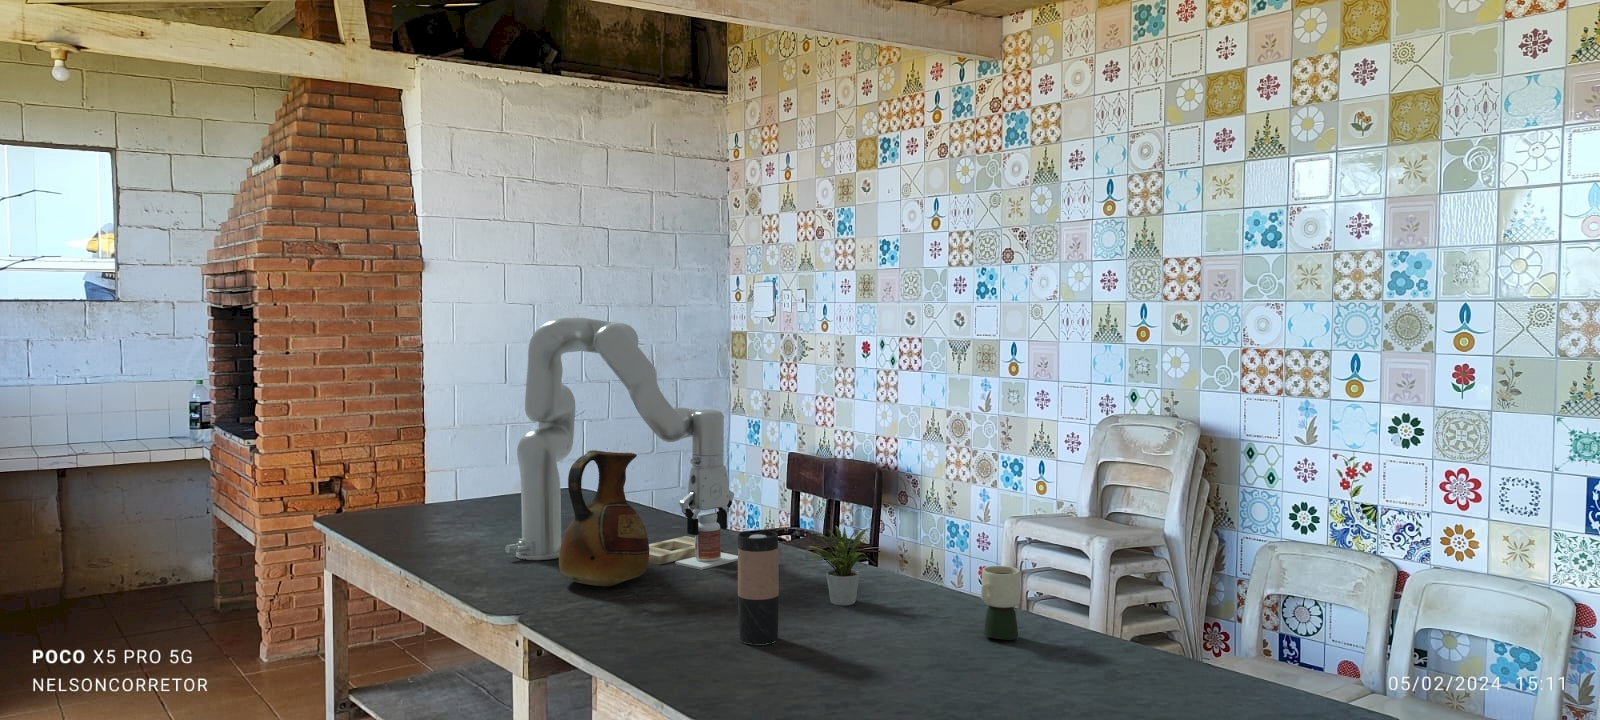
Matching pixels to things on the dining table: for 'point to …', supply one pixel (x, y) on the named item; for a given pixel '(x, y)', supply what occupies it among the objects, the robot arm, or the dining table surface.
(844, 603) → the house plant
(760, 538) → the travel mug
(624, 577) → the ceramic pitcher
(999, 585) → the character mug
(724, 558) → the mat
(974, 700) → the dining table surface
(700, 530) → the pill bottle
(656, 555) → the wooden rectangular frame
